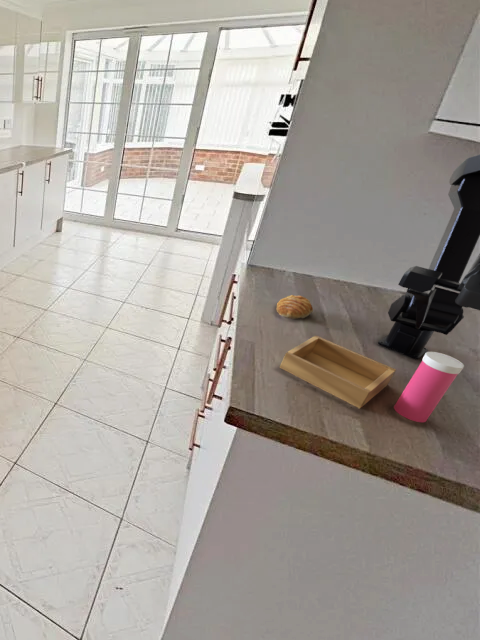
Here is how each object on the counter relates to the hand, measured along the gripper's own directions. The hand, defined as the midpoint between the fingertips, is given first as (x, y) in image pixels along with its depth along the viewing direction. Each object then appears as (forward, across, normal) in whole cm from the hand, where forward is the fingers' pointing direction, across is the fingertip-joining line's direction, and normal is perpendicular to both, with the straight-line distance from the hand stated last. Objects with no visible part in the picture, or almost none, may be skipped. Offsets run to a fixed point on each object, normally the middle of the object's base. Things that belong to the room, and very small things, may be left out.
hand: (455, 340), depth 70 cm
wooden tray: (+12, -11, -8) cm, 18 cm away
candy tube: (+12, 0, -10) cm, 15 cm away
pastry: (+12, -25, +15) cm, 32 cm away
